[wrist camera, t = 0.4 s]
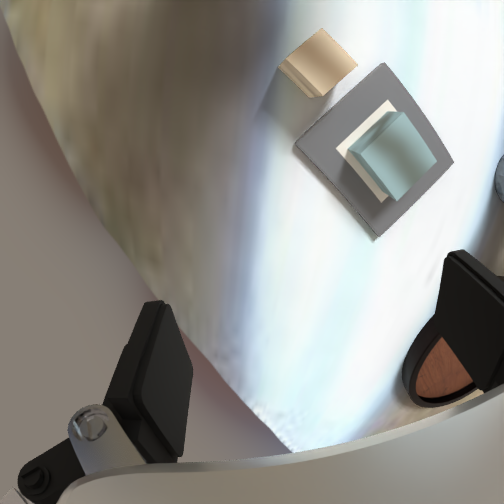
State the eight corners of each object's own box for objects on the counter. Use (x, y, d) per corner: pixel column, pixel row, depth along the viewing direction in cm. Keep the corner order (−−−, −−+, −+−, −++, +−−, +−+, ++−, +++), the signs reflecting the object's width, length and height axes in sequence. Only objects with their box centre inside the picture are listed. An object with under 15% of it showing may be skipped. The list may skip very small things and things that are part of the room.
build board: (381, 63, 29) (384, 62, 28) (450, 160, 35) (454, 162, 34) (294, 143, 34) (295, 144, 33) (376, 234, 39) (379, 237, 38)
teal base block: (387, 111, 31) (403, 112, 27) (419, 155, 33) (437, 161, 30) (347, 148, 33) (360, 154, 29) (382, 191, 35) (397, 201, 32)
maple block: (308, 40, 28) (321, 27, 23) (339, 71, 30) (358, 64, 25) (277, 67, 30) (285, 58, 24) (309, 98, 31) (323, 95, 26)
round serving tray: (413, 425, 55) (400, 342, 43) (407, 412, 59) (390, 327, 46) (518, 360, 50) (535, 257, 38) (510, 350, 54) (522, 248, 42)
